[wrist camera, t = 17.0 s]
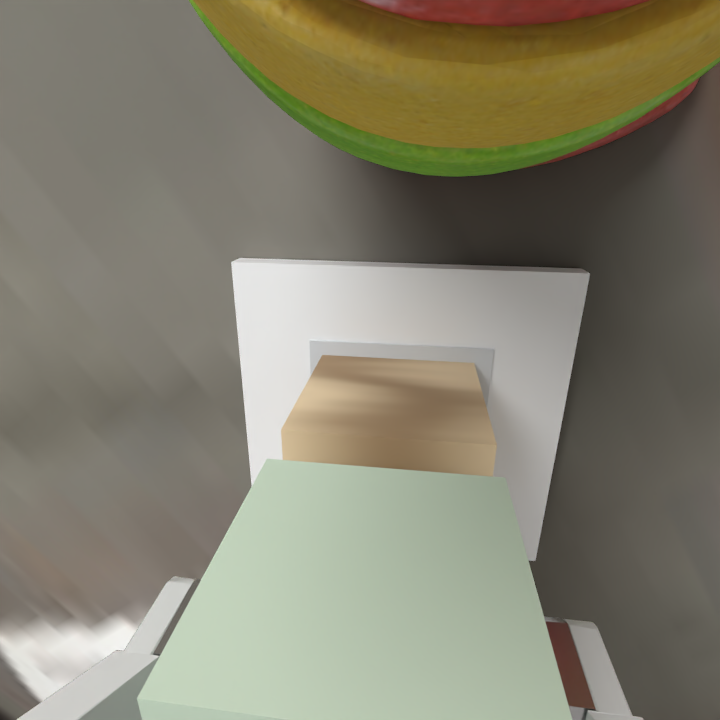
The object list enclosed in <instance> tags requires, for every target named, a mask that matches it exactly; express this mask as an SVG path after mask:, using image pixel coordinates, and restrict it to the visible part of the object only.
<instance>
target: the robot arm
mask: <svg viewBox="0 0 720 720" xmlns="http://www.w3.org/2000/svg"><path fill="white" fill-rule="evenodd" d="M200 581H201V580H200V579H191V578H183V577H175V576H174V577H173V578H172V579H170V580H169V581H168V582H167V583H166V584H165V586H164V587H163V589H162V591H161V592H160V594H159V595H158V597H157V599H156V600H155V602H154V603H153V605H152V607H151V608H150V610H149V611H148V613H147V615H146V616H145V618H144V619H143V621H142V623H141V624H140V626H139V627H138V629H137V631H136V632H135V634H134V635H133V637H132V638H131V640H130V642H129V643H128V645H127V646H126V648H125V650H124V651H120V650H116V651H114V652H113V653H111V654H110V655H109V656H107V657H106V658H104V659H103V660H101V661H100V662H99V663H97V664H96V665H94V666H93V667H91V668H90V669H88V670H87V671H86V672H84V673H83V674H81V675H80V676H78V677H77V678H76V679H74V680H73V681H71V682H70V683H68V684H67V685H66V686H64V687H63V688H61V689H60V690H58V691H57V692H55V693H54V694H53V695H51V696H50V697H48V698H47V699H45V700H44V701H43V702H41V703H40V704H38V705H37V706H35V707H34V708H32V709H31V710H30V711H28V712H27V713H25V714H24V715H22V716H21V717H20V718H18V719H17V720H142V717H141V713H140V709H139V705H138V701H137V697H138V695H139V694H140V692H141V690H142V688H143V686H144V684H145V683H146V681H147V679H148V677H149V675H150V673H151V672H152V670H153V668H154V666H155V664H156V662H157V660H158V659H159V657H160V655H161V653H162V651H163V649H164V648H165V646H166V644H167V642H168V640H169V638H170V636H171V635H172V633H173V631H174V629H175V627H176V625H177V624H178V622H179V620H180V618H181V616H182V614H183V613H184V611H185V609H186V607H187V605H188V603H189V601H190V600H191V598H192V596H193V594H194V592H195V590H196V589H197V587H198V585H199V583H200ZM544 619H545V622H546V626H547V630H548V633H549V637H550V640H551V644H552V648H553V651H554V655H555V658H556V662H557V666H558V669H559V673H560V676H561V680H562V684H563V687H564V691H565V695H566V698H567V702H568V705H569V709H570V713H571V716H572V720H644V719H643V718H642V717H637V716H632V713H631V711H630V708H629V706H628V703H627V701H626V698H625V696H624V693H623V690H622V688H621V685H620V683H619V680H618V678H617V675H616V673H615V670H614V668H613V665H612V663H611V660H610V658H609V655H608V653H607V650H606V648H605V645H604V643H603V640H602V638H601V635H600V632H599V630H598V627H597V626H596V625H595V624H594V623H593V622H588V621H579V620H569V619H562V618H554V617H544Z"/></svg>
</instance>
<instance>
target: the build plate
mask: <svg viewBox="0 0 720 720" xmlns="http://www.w3.org/2000/svg"><path fill="white" fill-rule="evenodd" d="M231 264H232V275H233V286H234V297H235V308H236V319H237V330H238V341H239V352H240V362H241V373H242V384H243V395H244V406H245V417H246V428H247V439H248V450H249V461H250V472H251V483H252V485H253V483H254V482H255V480H256V478H257V476H258V474H259V472H260V470H261V469H262V467H263V465H264V463H265V461H266V459H277V460H283V456H282V440H281V429H282V427H283V425H284V423H285V421H286V420H287V418H288V416H289V414H290V412H291V411H292V409H293V407H294V405H295V403H296V402H297V400H298V398H299V396H300V394H301V392H302V391H303V389H304V387H305V385H306V383H307V382H308V380H309V378H310V376H311V374H312V373H313V371H314V369H315V367H316V365H317V364H318V362H319V360H320V358H321V356H322V355H334V356H353V357H372V358H391V359H410V360H429V361H447V362H466V363H474V364H475V367H476V371H477V375H478V378H479V382H480V386H481V389H482V393H483V396H484V400H485V404H486V407H487V411H488V415H489V418H490V422H491V425H492V429H493V433H494V436H495V440H496V444H497V449H496V456H495V463H494V471H493V477H504V478H506V481H507V485H508V489H509V492H510V496H511V500H512V503H513V507H514V510H515V514H516V518H517V521H518V525H519V528H520V532H521V536H522V539H523V543H524V546H525V550H526V554H527V557H528V560H529V561H535V560H536V555H537V550H538V545H539V539H540V534H541V529H542V524H543V518H544V513H545V508H546V503H547V497H548V492H549V487H550V482H551V476H552V471H553V466H554V461H555V455H556V450H557V445H558V440H559V434H560V429H561V424H562V419H563V413H564V408H565V403H566V398H567V392H568V387H569V382H570V377H571V371H572V366H573V361H574V356H575V350H576V345H577V340H578V334H579V329H580V324H581V319H582V313H583V308H584V303H585V298H586V292H587V287H588V282H589V277H590V273H589V272H587V271H585V270H583V269H582V268H552V267H519V266H486V265H453V264H420V263H388V262H355V261H322V260H289V259H257V258H239V259H237V260H235V261H233V262H231Z"/></svg>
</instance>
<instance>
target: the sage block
mask: <svg viewBox="0 0 720 720" xmlns="http://www.w3.org/2000/svg"><path fill="white" fill-rule="evenodd" d="M137 701H138V705H139V709H140V713H141V717H142V720H572V716H571V713H570V709H569V705H568V702H567V698H566V695H565V691H564V687H563V684H562V680H561V676H560V673H559V669H558V666H557V662H556V658H555V655H554V651H553V648H552V644H551V640H550V637H549V633H548V630H547V626H546V622H545V619H544V615H543V611H542V608H541V604H540V601H539V597H538V593H537V590H536V586H535V583H534V579H533V575H532V572H531V568H530V565H529V561H528V557H527V554H526V550H525V546H524V543H523V539H522V536H521V532H520V528H519V525H518V521H517V518H516V514H515V510H514V507H513V503H512V500H511V496H510V492H509V489H508V485H507V481H506V478H504V477H492V476H479V475H466V474H454V473H441V472H429V471H416V470H403V469H391V468H378V467H366V466H353V465H340V464H328V463H315V462H303V461H290V460H277V459H266V461H265V463H264V465H263V467H262V469H261V470H260V472H259V474H258V476H257V478H256V480H255V482H254V483H253V485H252V487H251V489H250V491H249V493H248V494H247V496H246V498H245V500H244V502H243V504H242V506H241V507H240V509H239V511H238V513H237V515H236V517H235V518H234V520H233V522H232V524H231V526H230V528H229V530H228V531H227V533H226V535H225V537H224V539H223V541H222V542H221V544H220V546H219V548H218V550H217V552H216V553H215V555H214V557H213V559H212V561H211V563H210V565H209V566H208V568H207V570H206V572H205V574H204V576H203V577H202V579H201V581H200V583H199V585H198V587H197V589H196V590H195V592H194V594H193V596H192V598H191V600H190V601H189V603H188V605H187V607H186V609H185V611H184V613H183V614H182V616H181V618H180V620H179V622H178V624H177V625H176V627H175V629H174V631H173V633H172V635H171V636H170V638H169V640H168V642H167V644H166V646H165V648H164V649H163V651H162V653H161V655H160V657H159V659H158V660H157V662H156V664H155V666H154V668H153V670H152V672H151V673H150V675H149V677H148V679H147V681H146V683H145V684H144V686H143V688H142V690H141V692H140V694H139V695H138V697H137Z"/></svg>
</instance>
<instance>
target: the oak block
mask: <svg viewBox="0 0 720 720" xmlns="http://www.w3.org/2000/svg"><path fill="white" fill-rule="evenodd" d="M281 440H282V456H283V460H290V461H303V462H315V463H328V464H340V465H353V466H366V467H378V468H391V469H403V470H416V471H429V472H441V473H454V474H466V475H479V476H492V477H493V471H494V463H495V456H496V449H497V444H496V440H495V436H494V433H493V429H492V425H491V422H490V418H489V415H488V411H487V407H486V404H485V400H484V396H483V393H482V389H481V386H480V382H479V378H478V375H477V371H476V367H475V364H474V363H466V362H447V361H429V360H410V359H391V358H372V357H353V356H334V355H322V356H321V358H320V360H319V362H318V364H317V365H316V367H315V369H314V371H313V373H312V374H311V376H310V378H309V380H308V382H307V383H306V385H305V387H304V389H303V391H302V392H301V394H300V396H299V398H298V400H297V402H296V403H295V405H294V407H293V409H292V411H291V412H290V414H289V416H288V418H287V420H286V421H285V423H284V425H283V427H282V429H281Z"/></svg>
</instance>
